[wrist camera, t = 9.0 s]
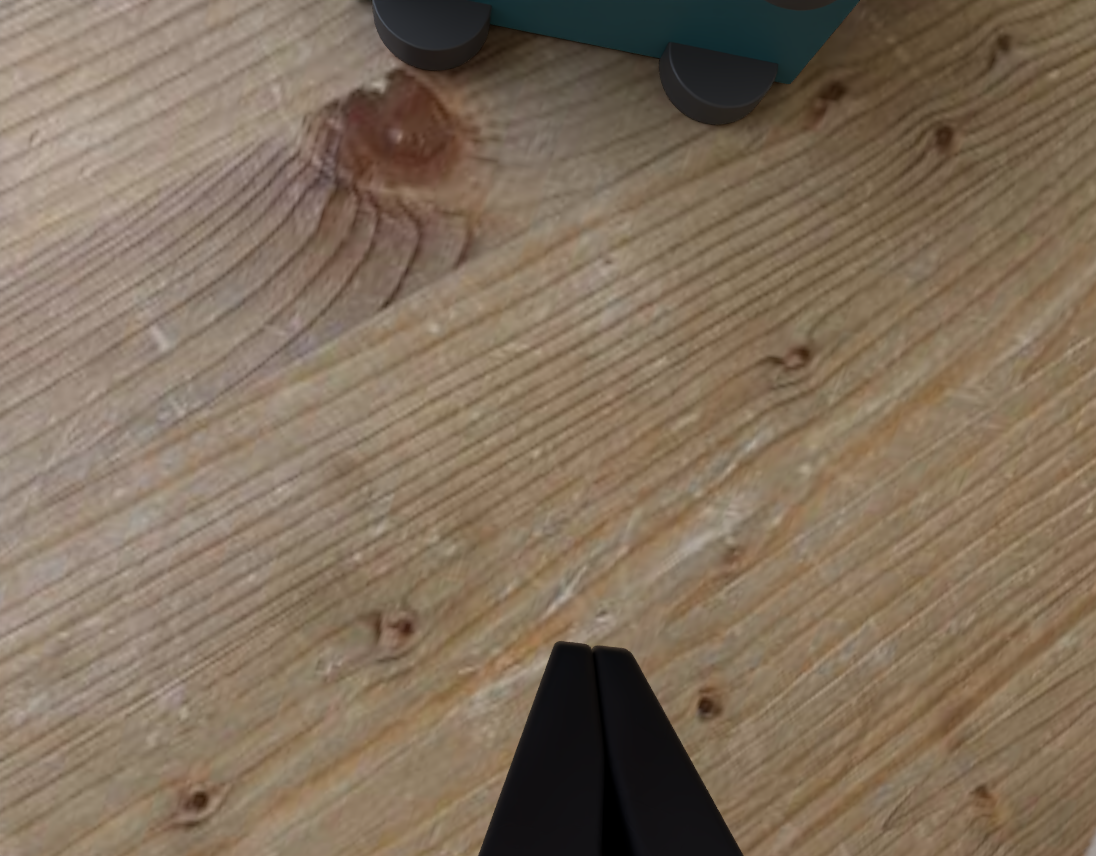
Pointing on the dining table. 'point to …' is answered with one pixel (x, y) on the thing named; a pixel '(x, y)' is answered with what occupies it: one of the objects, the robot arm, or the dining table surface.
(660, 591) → the dining table surface
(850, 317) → the dining table surface
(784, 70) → the toy van
